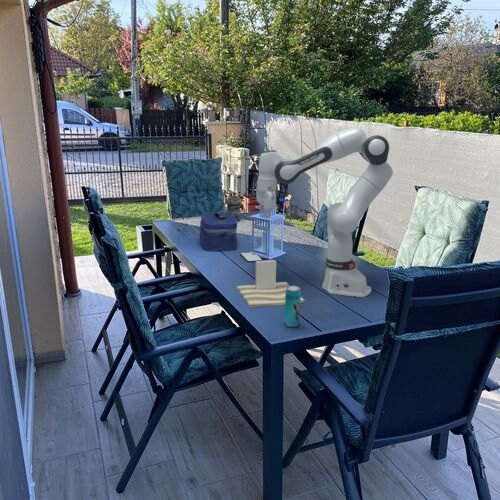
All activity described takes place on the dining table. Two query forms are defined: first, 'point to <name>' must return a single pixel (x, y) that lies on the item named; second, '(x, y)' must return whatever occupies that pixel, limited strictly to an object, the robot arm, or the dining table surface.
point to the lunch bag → (218, 232)
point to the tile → (265, 274)
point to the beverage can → (292, 306)
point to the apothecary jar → (233, 206)
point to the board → (264, 295)
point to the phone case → (250, 257)
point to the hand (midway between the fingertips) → (265, 215)
